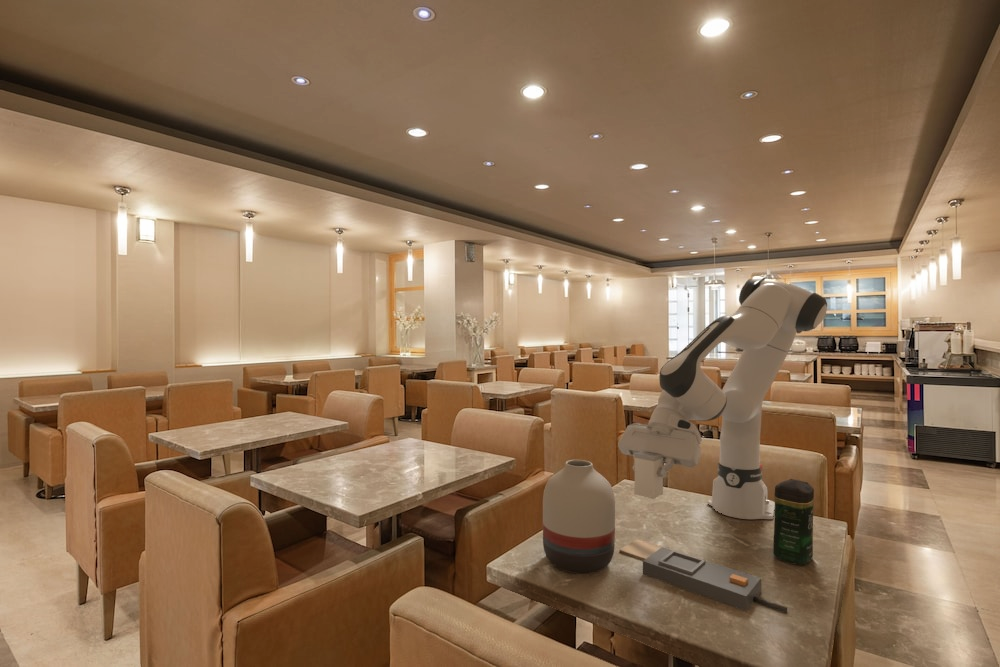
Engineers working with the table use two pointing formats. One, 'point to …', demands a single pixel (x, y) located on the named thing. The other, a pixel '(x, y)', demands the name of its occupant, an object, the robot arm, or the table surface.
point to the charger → (648, 474)
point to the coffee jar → (793, 522)
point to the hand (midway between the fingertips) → (647, 473)
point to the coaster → (640, 549)
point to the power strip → (706, 579)
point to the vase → (579, 519)
